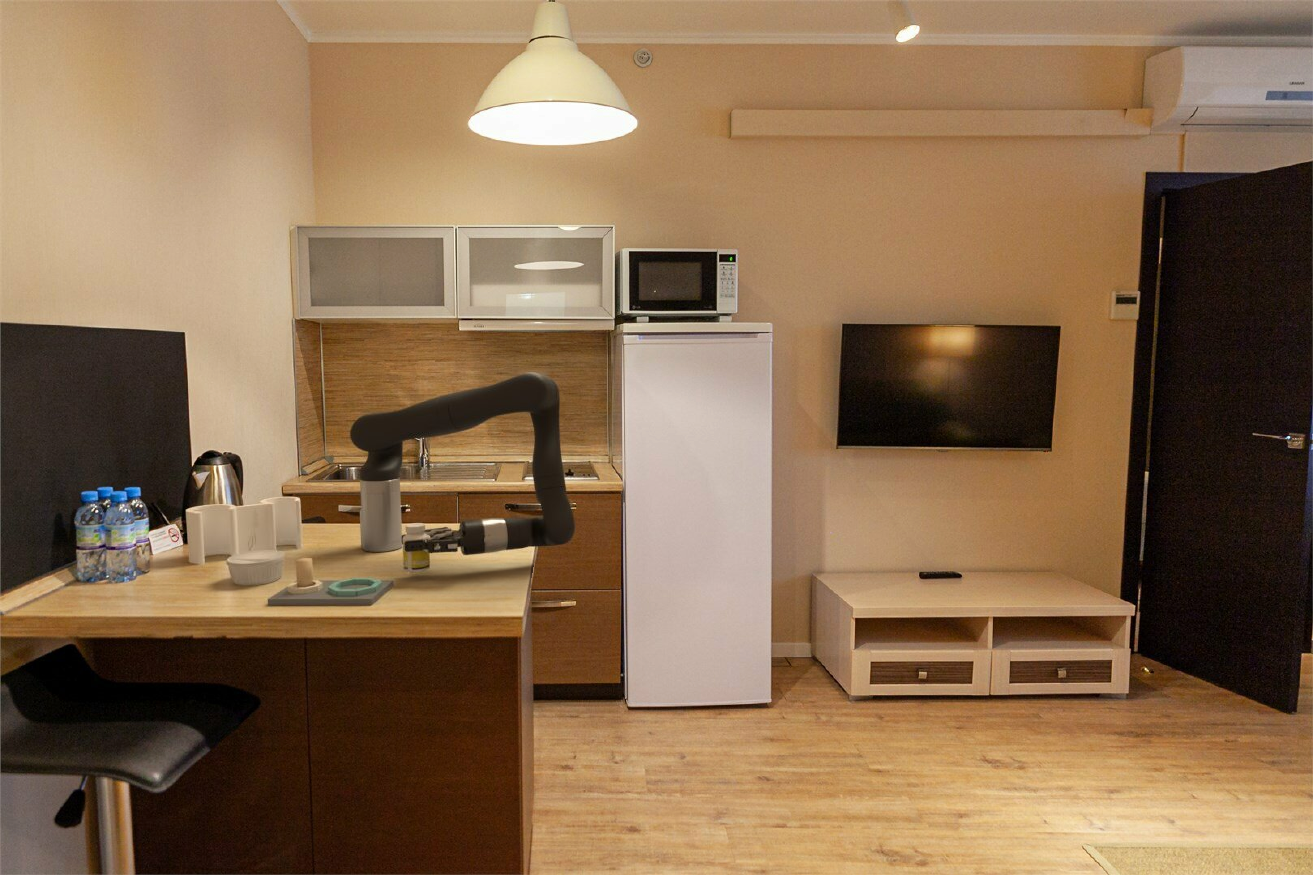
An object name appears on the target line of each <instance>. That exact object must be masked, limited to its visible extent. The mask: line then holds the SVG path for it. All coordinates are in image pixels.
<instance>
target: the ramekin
mask: <svg viewBox="0 0 1313 875" xmlns="http://www.w3.org/2000/svg"><path fill="white" fill-rule="evenodd" d="M285 557H286V554H285V552H283V551H282V550H277V551H276V550H257V551H250V552H244V553H240V554H236V555H233V556H231V555H230V556H229V557H228V558H227V559H226V565H227V566H228V572H229V575H230V577H231V581H232V582H233V584H235V585H237V586H244V587H248V586H253V587H254V586H260V585H266V584H270V583H274V582H276V581H278V580H280V579H281V577H282V575H283V570H284V562H285V560H284V559H285Z"/></svg>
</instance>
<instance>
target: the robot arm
mask: <svg viewBox="0 0 1313 875" xmlns="http://www.w3.org/2000/svg"><path fill="white" fill-rule="evenodd" d="M560 402H561V401H560V388H559V386H558V384H557V383H556V381H555V380H554V379H553V378H551V377H550V376H547V375H545V374H542V373H538V372H535V371H534V372H533V371H528V372H523V373H521V374H517V375H515V376H512V377H510V378H507V379H505V380H502V381H500V382H496V383H493V384H489V385H487V386H481V387H480V386H479V387H475V388H469V389H465V390H461V391H455V392H451V393H447V394H442V395H439V396H436V397H433V398H430V399H427V400H423V401H421V402H418V403H416V404H413V405H410V406H407V407H404V408H402V409H398V410H393V411H389V412H388V411H381V412H372V413H369V414H368V413H367V414H364V415H361V416H360V417H358V418H357V419H356V420H355V421H354V422H353V424H352V425H351V428H350V430H349V437H350V440H351V442H352V444H353V445H354V446H355V447H356V448H358V449H359V450H361V451H363V452H367V458H366V461H365V463H364V464H363V465H362V466H361V467H360V468H359V484H360V485H359V488H360V506H361V507H360V509H359V524H360V525H359V527H360V529H359V530H360V531H359V532H360V547H361V548H362V549H363V551H366V552H371V553H372V552H375V553H380V552H389V551H396V550H398V549H401V548H403V537H404V536H405V535H407V533H405V534H403V533H402V532H403V530H402V527H403V526H402V525H403V524H402V506H401V504H402V502H401V499H402V498H401V475H400V474H401V472H400V471H401V468H402V466H403V454H404V453H403V451H404V450H403V449H404V448H403V446H404V442H405V441H408V440H409V441H410V440H417V439H427V438H434V437H441V436H447V435H451V434H455V433H456V434H457V433H459V432H464V431H465V432H466V431H468V430H471V429H473V428H476V427H478V426H480V425H481V424H484V423H486V421H489V420H490V419H493V418H495V417H499V416H504V415H510V414H511V415H512V414H516V413H517V414H518V413H529V414H530V418H531V421H532V427H533V433H534V434H533V436H534V445H533V446H534V447H533V454H532V462H531V463H532V464H531V466H532V467H531V470H532V480H533V486H534V491H535V492H534V494H535V498H536V501H537V503H538V504H540V506H541V512H542V516H536V517H535V516H534V517H521V516H519V517H518V516H516V517H506V518H504V517H503V518H498V517H497V518H496V517H493V518H491V517H489V518H478V519H476V518H475V519H463V520H461V521H460V523H459V529H458V530H455V529H452V528H450V527H448V526H444V527H438V528H437V527H436V528H428V529H425V531H424V533H425V534H427V535H428V536H429V538H426V539H424V541H423V539H421V540H410V541H405V543H404V546H405V551H406V552H411V551H422V550H423V549H424V551H426V552H428V553H429V554H438V553H442V554H443V553H457V552H458V551H459V550H458V549H459V548H460V551H461V554H462V555H463V556H470V555H471V556H473V555H481V554H490V553H499V552H502V551H512V550H519V549H521V550H522V549H526V548H528V547H531V548H533V547H554V546H560V545H561V546H562V545H565V544H567V543H569V542H570V541H571V540H572V539H573V537H574V535H575V532H576V525H575V524H576V522H575V517H574V513H573V510H572V507H571V503H570V501H569V497H568V495H567V487H566V478H565V473H564V466H563V459H562V458H563V457H562V451H561V450H562V449H561V435H560V434H561V433H560V431H561V430H560Z"/></svg>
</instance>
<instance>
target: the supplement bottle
mask: <svg viewBox="0 0 1313 875" xmlns="http://www.w3.org/2000/svg"><path fill="white" fill-rule="evenodd" d="M425 530H426V524H425V523H422V522H413V523H407V524H405V534H407V535H405V534H404V535H405V536H404V537H403V545H402V560H403V562H402V564H403V570H404V572H405V573H408V574H409V573H410V574H411V573H412V574H413V573H414V574H418V573H423V572H426V571H429V570H430V568H431V560H430V553H428V552H426V551H424V549H423V550H422V551H411V552H406V551H405V546H404V543H405V541H410V540H421V539H423V541H424V539H426V538H430V536H429V535H427V534H425V533H424V531H425Z"/></svg>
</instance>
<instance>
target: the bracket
mask: <svg viewBox="0 0 1313 875" xmlns="http://www.w3.org/2000/svg"><path fill="white" fill-rule="evenodd" d="M301 508H302V506H301V498H300V497H297V496H276V497H269V498H264V499H261V500H260V501H259V503H253V504H247V505H245V504H244V505H237V506H236V505H235V504H227V503H222V504H221V503H216V504H204V505H198V506H197V505H196V506H193V507H189V508H187V509H185V519H186V520H185V521H186V533H187V534H186V535H187V550H188V551H187V552H188V562H189V563H191V564H195V565H198V566H199V565H200V566H201V565H202V566H203V565H205V564H206V560H205V557H207V556H213V555H230V557H231V556H233V555H236V554H240V553H244V552H250V551H257V550H276V551H278V550H277V546H289V545H293V546H296V549H297V550H301V549H303V547H304V546H303V528H302V527H303V526H302V510H301Z"/></svg>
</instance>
